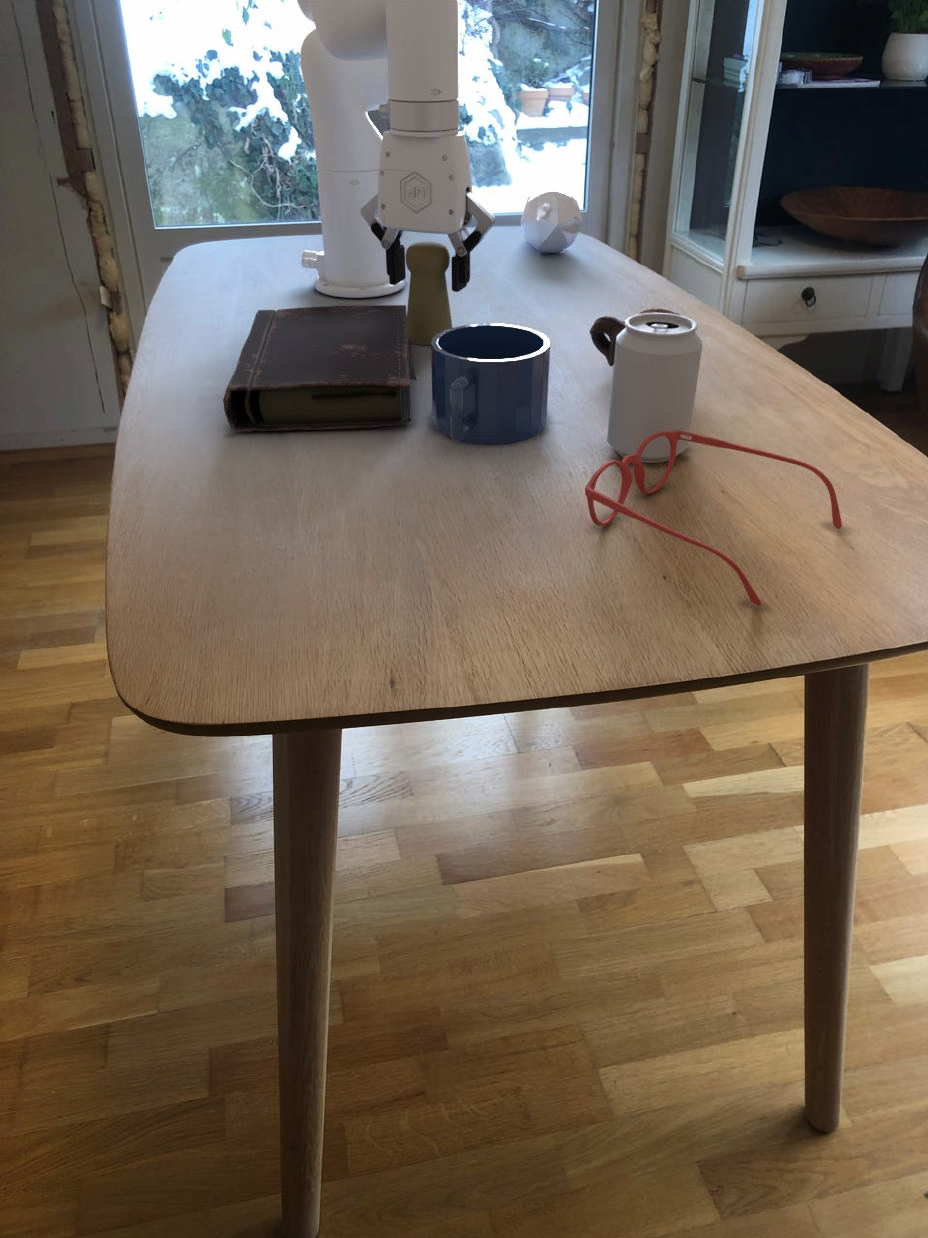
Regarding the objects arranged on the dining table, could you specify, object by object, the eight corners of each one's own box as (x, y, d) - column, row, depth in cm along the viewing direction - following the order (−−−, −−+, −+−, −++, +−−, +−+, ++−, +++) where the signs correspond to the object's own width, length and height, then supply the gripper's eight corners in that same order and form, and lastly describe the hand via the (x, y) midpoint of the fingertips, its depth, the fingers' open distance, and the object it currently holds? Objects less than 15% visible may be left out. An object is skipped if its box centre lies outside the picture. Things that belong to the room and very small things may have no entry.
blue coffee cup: (458, 394, 101) (457, 318, 96) (560, 409, 97) (564, 330, 93) (399, 448, 89) (395, 364, 85) (512, 467, 86) (515, 381, 81)
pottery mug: (692, 368, 109) (715, 316, 101) (668, 429, 105) (690, 380, 97) (593, 331, 110) (609, 277, 102) (566, 390, 106) (580, 339, 98)
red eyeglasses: (672, 468, 86) (679, 416, 83) (847, 523, 77) (862, 466, 74) (561, 542, 75) (565, 484, 72) (752, 615, 66) (764, 553, 63)
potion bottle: (548, 270, 148) (530, 258, 161) (600, 229, 146) (577, 220, 159) (514, 218, 144) (498, 210, 157) (567, 175, 142) (546, 171, 155)
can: (692, 439, 91) (710, 312, 84) (680, 471, 85) (699, 338, 78) (614, 429, 93) (626, 304, 86) (598, 460, 87) (609, 329, 80)
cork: (456, 330, 119) (456, 237, 112) (451, 345, 114) (450, 249, 107) (408, 328, 119) (405, 235, 113) (401, 344, 114) (397, 248, 108)
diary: (226, 434, 92) (218, 384, 89) (256, 350, 112) (250, 307, 110) (419, 429, 93) (418, 379, 90) (414, 346, 113) (412, 303, 111)
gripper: (336, 118, 103) (348, 286, 113) (487, 125, 97) (485, 301, 107) (367, 110, 109) (376, 271, 118) (512, 117, 103) (508, 284, 113)
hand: (428, 284), depth 113 cm, fingers open, 7 cm apart
